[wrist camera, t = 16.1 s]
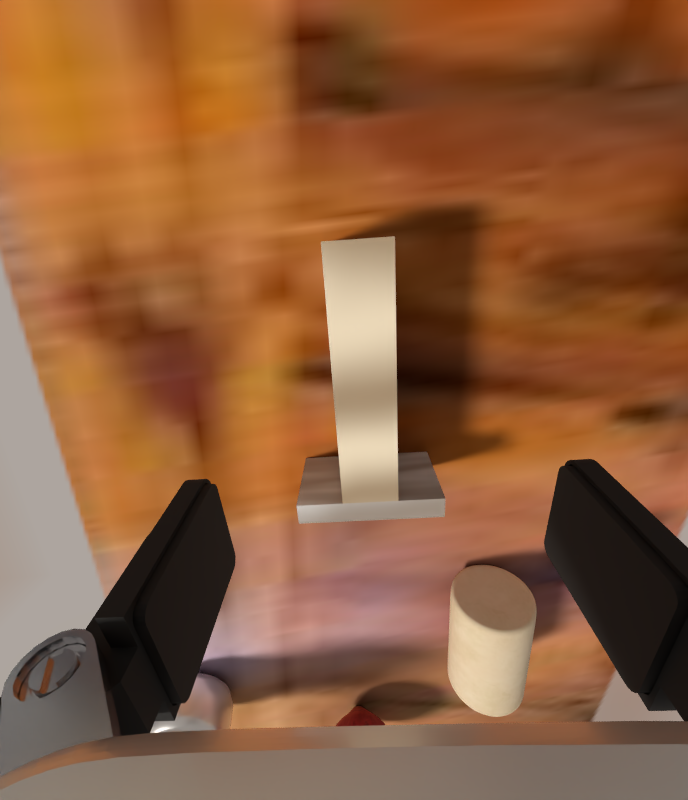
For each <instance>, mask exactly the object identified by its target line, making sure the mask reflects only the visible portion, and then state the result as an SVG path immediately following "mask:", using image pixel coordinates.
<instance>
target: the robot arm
mask: <svg viewBox="0 0 688 800" xmlns="http://www.w3.org/2000/svg"><path fill="white" fill-rule="evenodd" d="M544 545H545V550H546V553H547V555H548V557H549V558H550V560H551V562H552V563H553V565H554V567H555V568H556V570H557V572H558V573H559V575H560V577H561V578H562V580H563V582H564V583H565V585H566V587H567V588H568V590H569V592H570V593H571V595H572V597H573V598H574V600H575V601H576V603H577V605H578V606H579V608H580V610H581V611H582V613H583V615H584V616H585V618H586V620H587V621H588V623H589V625H590V626H591V628H592V630H593V631H594V633H595V635H596V636H597V638H598V639H599V641H600V643H601V644H602V646H603V648H604V649H605V651H606V653H607V654H608V656H609V658H610V659H611V661H612V663H613V664H614V666H615V668H616V669H617V671H618V673H619V674H620V676H621V678H622V679H623V681H624V682H625V684H626V685H627V687H628V688H629V689H630V690H631V691H633V692H634V693H638V694H639V696H640V697H641V699H642V701H643V702H644V704H645V706H646V707H647V709H648V710H649V711H667V710H677V711H678V713H679V714H680V716H681V717H682V719H683V720H684V721H615V722H614V721H612V722H540V723H479V724H426V725H378V726H334V727H295V728H257V729H223V730H201V731H180V732H158V733H150V732H151V729H152V727H153V724H154V722H155V721H175V719H176V716H177V713H178V710H179V708H180V705H181V703H186V702H187V701H188V699H189V697H190V695H191V692H192V689H193V686H194V683H195V680H196V677H197V674H198V672H199V669H200V666H201V663H202V660H203V657H204V654H205V651H206V648H207V645H208V643H209V640H210V637H211V634H212V631H213V628H214V625H215V622H216V619H217V616H218V613H219V611H220V608H221V605H222V602H223V599H224V596H225V593H226V590H227V587H228V584H229V582H230V579H231V576H232V573H233V570H234V567H235V552H234V548H233V544H232V541H231V537H230V533H229V530H228V526H227V522H226V519H225V515H224V511H223V508H222V504H221V500H220V497H219V493H218V489H217V486H216V485H215V484H211V483H210V481H209V480H208V479H198V480H187V481H185V482H184V483H183V485H182V486H181V488H180V489H179V491H178V492H177V494H176V495H175V497H174V498H173V500H172V501H171V503H170V504H169V506H168V507H167V509H166V510H165V512H164V513H163V515H162V516H161V518H160V519H159V521H158V522H157V524H156V525H155V527H154V528H153V530H152V532H151V533H150V534H149V535H148V536H147V537H146V539H145V540H144V542H143V543H142V545H141V546H140V548H139V549H138V551H137V552H136V554H135V555H134V557H133V559H132V560H131V562H130V563H129V565H128V566H127V568H126V569H125V571H124V572H123V574H122V575H121V577H120V578H119V580H118V581H117V583H116V584H115V586H114V587H113V589H112V590H111V592H110V593H109V595H108V596H107V598H106V599H105V601H104V602H103V604H102V605H101V607H100V608H99V610H98V611H97V613H96V614H95V616H94V617H93V619H92V620H91V622H90V623H89V625H88V626H87V628H86V629H71V630H67V631H63V632H60V633H58V634H56V635H54V636H52V637H49V638H48V639H46V640H45V641H43V642H42V643H40V644H38V645H37V646H36V647H34V648H33V649H32V650H31V651H30V652H29V653H27V654H26V655H25V656H24V657H23V658H22V659H21V660H20V662H19V663H18V664H17V665H16V666H15V667H14V669H13V670H12V671H11V673H10V675H9V677H8V679H7V680H6V682H5V684H4V688H3V692H2V696H1V697H0V800H688V548H687V547H686V546H685V545H684V544H683V543H682V542H681V541H680V540H679V539H678V538H677V537H676V536H675V535H674V534H673V533H672V532H671V531H670V530H668V529H667V528H666V527H665V526H664V525H663V524H662V523H661V522H660V521H659V520H658V519H657V518H656V517H655V516H654V515H653V514H652V513H650V512H649V511H648V510H647V509H646V508H645V507H644V506H643V505H642V504H641V503H640V502H639V501H638V500H637V499H636V498H635V497H634V496H632V495H631V494H630V493H629V492H628V491H627V490H626V489H625V488H624V487H623V486H622V485H621V484H620V483H619V482H618V481H617V480H615V479H614V478H613V477H612V476H611V475H610V474H609V473H608V472H607V471H606V470H605V469H604V468H603V467H602V466H601V465H600V464H599V463H597V462H596V461H595V460H592V459H583V460H569V461H567V462H566V464H565V466H562V467H560V469H559V472H558V477H557V482H556V486H555V491H554V496H553V501H552V506H551V511H550V516H549V520H548V525H547V530H546V535H545V540H544Z"/></svg>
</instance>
